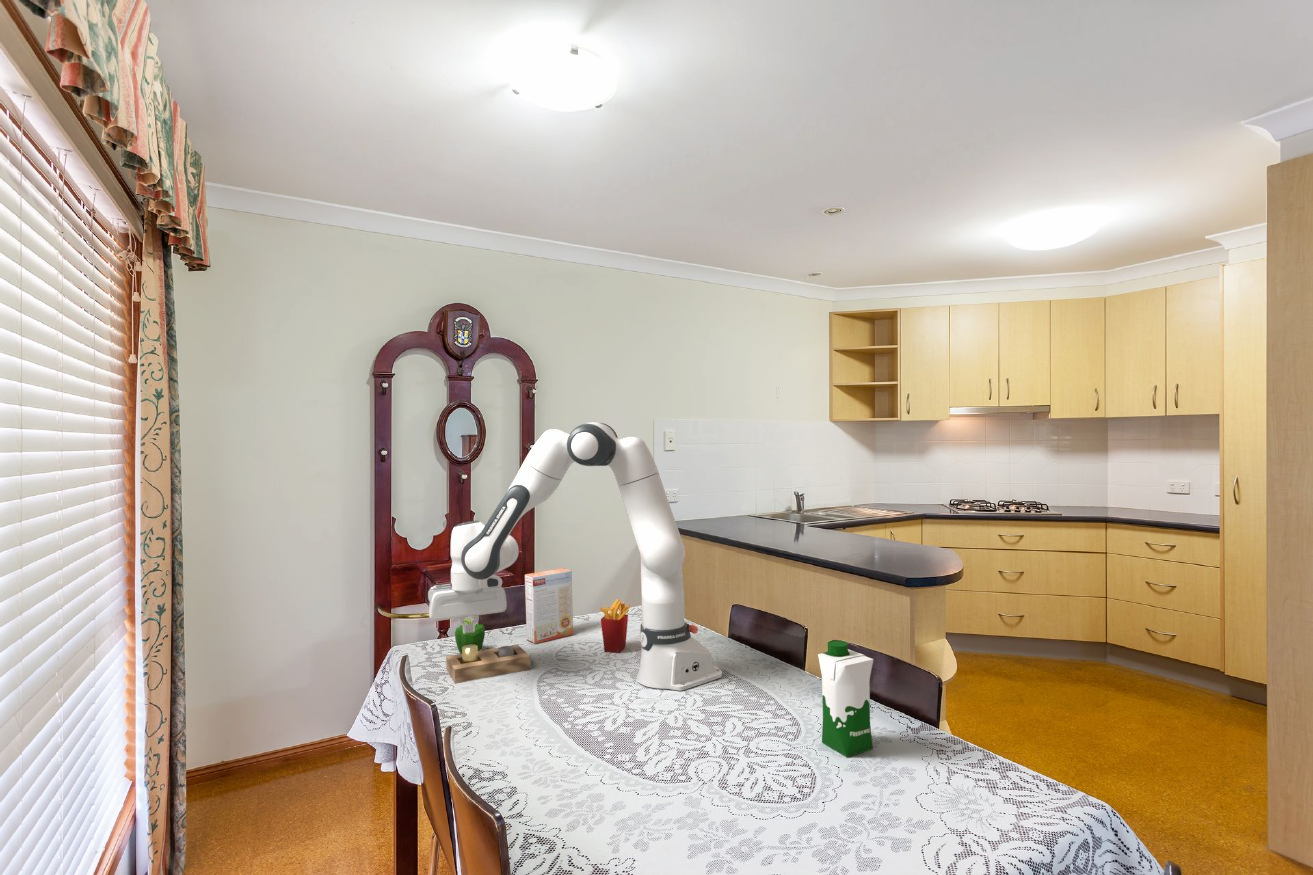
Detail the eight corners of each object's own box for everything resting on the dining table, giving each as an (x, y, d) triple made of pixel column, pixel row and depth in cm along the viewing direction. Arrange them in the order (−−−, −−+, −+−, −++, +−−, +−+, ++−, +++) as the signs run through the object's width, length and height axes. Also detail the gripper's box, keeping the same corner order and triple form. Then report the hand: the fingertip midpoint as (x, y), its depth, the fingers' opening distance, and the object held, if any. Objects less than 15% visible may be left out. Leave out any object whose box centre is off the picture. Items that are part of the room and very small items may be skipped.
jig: (517, 656, 190) (517, 639, 190) (530, 669, 179) (530, 650, 179) (446, 669, 181) (446, 651, 181) (455, 683, 170) (454, 663, 170)
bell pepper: (491, 651, 196) (490, 617, 196) (470, 659, 189) (469, 624, 189) (471, 646, 200) (471, 613, 200) (450, 654, 193) (449, 620, 193)
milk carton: (847, 732, 138) (845, 636, 138) (880, 750, 130) (878, 648, 130) (815, 741, 134) (813, 643, 134) (847, 760, 126) (845, 656, 126)
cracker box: (564, 631, 215) (563, 567, 215) (573, 635, 210) (572, 569, 210) (525, 639, 206) (524, 573, 206) (534, 644, 201) (533, 576, 201)
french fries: (600, 652, 192) (599, 601, 192) (610, 644, 200) (609, 594, 200) (628, 654, 190) (627, 603, 190) (637, 646, 198) (636, 596, 198)
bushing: (476, 669, 180) (475, 643, 180) (479, 673, 177) (478, 647, 177) (461, 671, 178) (460, 645, 178) (464, 676, 175) (463, 649, 175)
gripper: (429, 588, 170) (430, 641, 170) (507, 579, 180) (508, 629, 180) (425, 583, 176) (426, 635, 176) (501, 575, 185) (502, 624, 185)
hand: (468, 632), depth 178 cm, fingers closed
